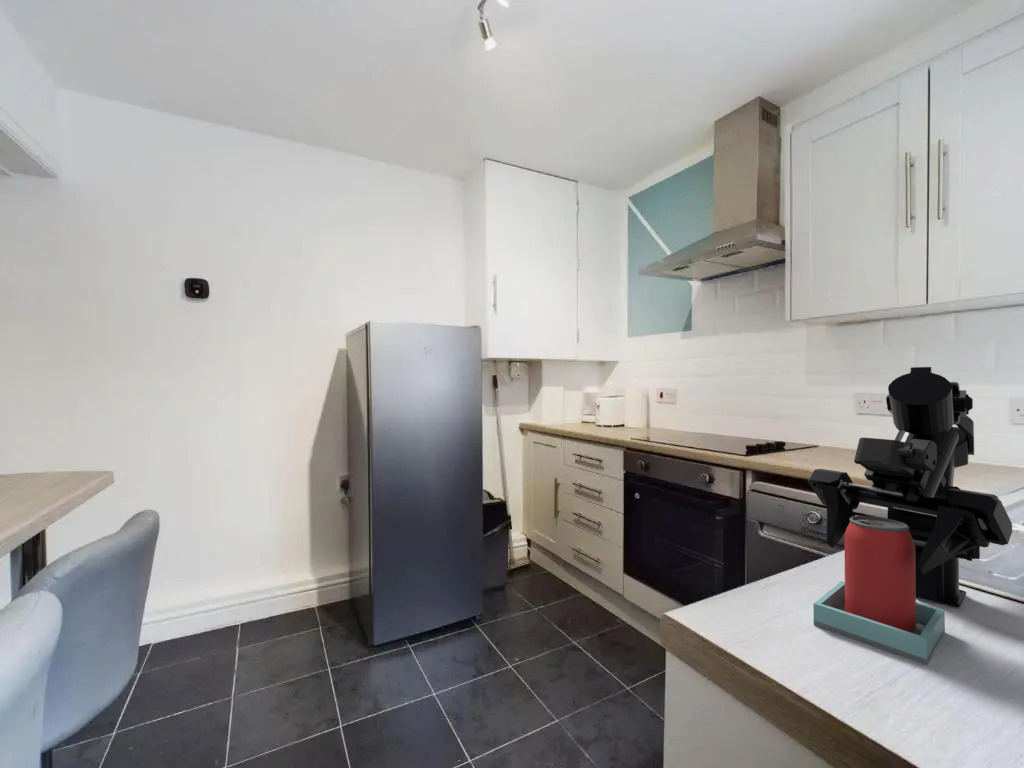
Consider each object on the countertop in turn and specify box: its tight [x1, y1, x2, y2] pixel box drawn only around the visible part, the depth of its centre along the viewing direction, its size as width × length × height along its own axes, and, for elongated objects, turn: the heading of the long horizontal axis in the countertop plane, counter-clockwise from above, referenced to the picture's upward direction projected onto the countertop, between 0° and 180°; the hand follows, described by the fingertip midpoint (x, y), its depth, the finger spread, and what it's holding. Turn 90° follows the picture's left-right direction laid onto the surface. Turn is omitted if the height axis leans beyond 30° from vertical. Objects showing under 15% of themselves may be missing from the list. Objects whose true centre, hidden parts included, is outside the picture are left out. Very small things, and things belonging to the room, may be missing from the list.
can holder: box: [813, 580, 946, 666], centre depth 54 cm, size 10×10×3 cm
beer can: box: [843, 515, 917, 632], centre depth 54 cm, size 7×7×12 cm
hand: (871, 557), depth 53 cm, fingers open, 9 cm apart
